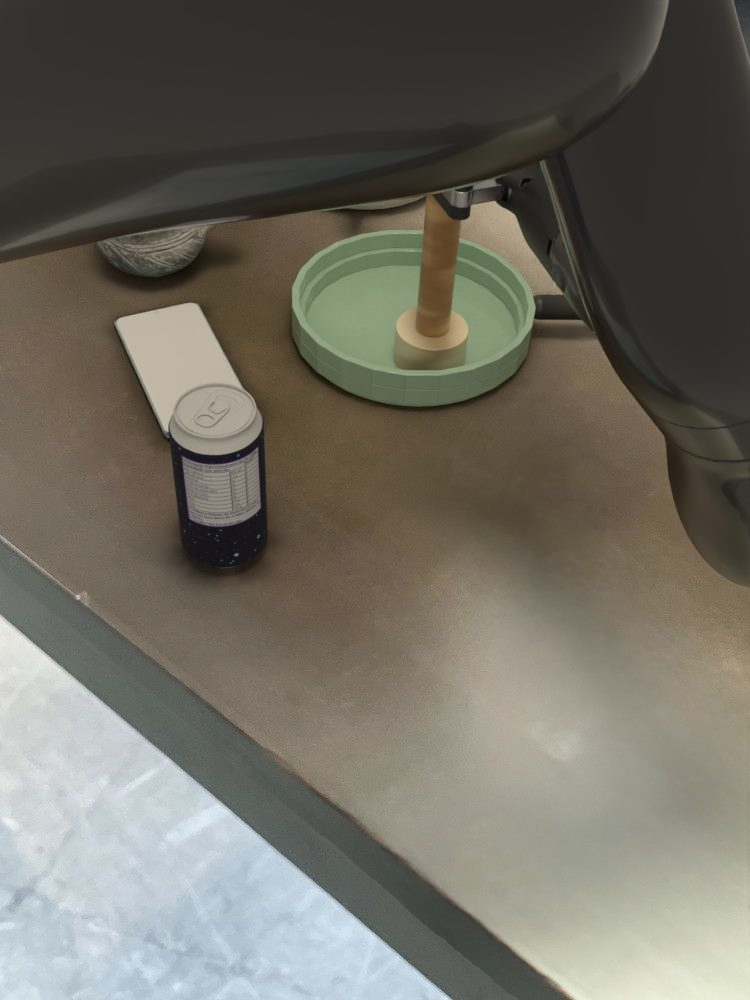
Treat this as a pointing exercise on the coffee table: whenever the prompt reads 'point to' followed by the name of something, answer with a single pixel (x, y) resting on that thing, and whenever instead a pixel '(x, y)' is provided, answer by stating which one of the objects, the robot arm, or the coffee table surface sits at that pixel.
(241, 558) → the beverage can
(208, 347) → the smartphone
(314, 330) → the pan
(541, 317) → the pan handle
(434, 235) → the brush
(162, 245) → the mug
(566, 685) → the coffee table surface
